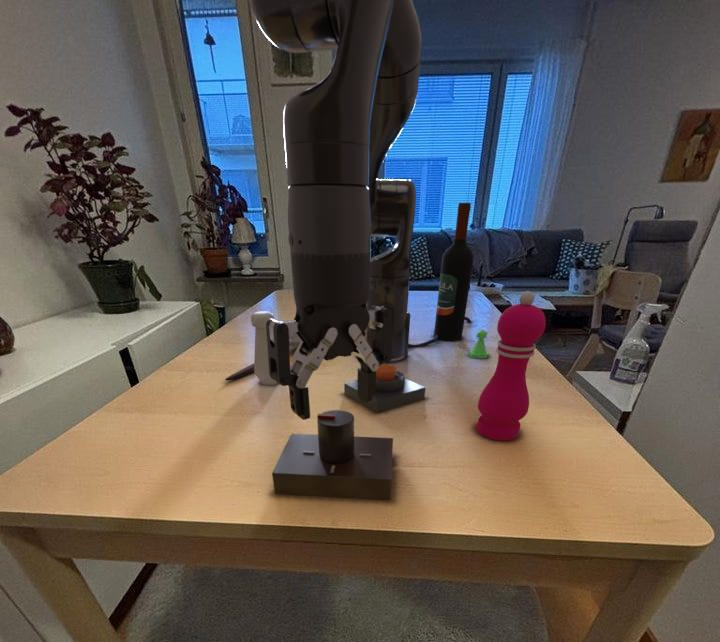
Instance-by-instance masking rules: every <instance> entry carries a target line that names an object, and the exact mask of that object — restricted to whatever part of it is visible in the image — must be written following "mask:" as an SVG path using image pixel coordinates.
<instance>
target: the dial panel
mask: <svg viewBox="0 0 720 642" xmlns="http://www.w3.org/2000/svg"><path fill="white" fill-rule="evenodd" d="M393 450H394V437H379V436H378V437H376V436H356V435H354V456H353V457H352V458H351V459H350V460H348V461H345V462H340V463H332V462H327V461H325V460H323V459H322V458H321V457H320V455H319V441H318V434H310V433H309V434H308V433H290V436H289V437H288V439H287V441H286V443H285V446H284V448H283V449H282V452H281V454H280V455H279V456H280V457H279V458H278V460H277V462H276V464H275V466H274V468H273V470H272V472H271V475H272V482H273V490H274V494H278V495H296V496H313V497H329V498H330V497H331V498H348V499H350V498H351V499H368V500H387V501H390V500H391V499H392V497H391V496H392V482H393V454H394V453H393Z"/></svg>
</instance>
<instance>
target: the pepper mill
mask: <svg viewBox="0 0 720 642" xmlns="http://www.w3.org/2000/svg"><path fill="white" fill-rule="evenodd" d="M535 299H536V298H535V294H534V292H532V291H530V290H526V291H524V292H523V293H521V295H520V296H519V303H517V304H514V305H511V306H509V307H507V308H506V309H505V310H504V311H503V312H502V313H501V315H500V316H499V318H498V322H497V326H496V331H497V334H498V336H499V337H500V340H499V341H498V342H497V348H496V350H495V351H496V353H497V354H498V356H497V357H498V358H497V364H496V368H495V371H494V373H493V375H492V377H491V378H490V380H489V381H488V383H487V384H486V385H485V387H484V388H483V390H482V391H481V393H480V395H479V397H478V398H479V399H478V401H477V409H478V411H479V413H480V414H481V415H480V416H479V417H478V419H477V425H476V430H477V432H478V434H480V435H482V436H483V437H485V438H487V439H491V440H495V441H511V440H513V439H514V440H515V439H516V438H517V437H518V436H519V433H520V430H521V422H520V421H521V420H522V419H524V418H525V417H526V416H527V414H528V412H529V407H530V396H529V390H528V385H527V377H526V374H527V368H528V364H529V361H530V358H532V357H533V356H534V355H535V350H536V348H537V344H536V343H535V342H536V341H538V340H539V339H540V338H541V337H542V336H543V334H544V332H545V330H546V322H547V320H546V316H545V313H544V311H543V310H542V309H541V308H540V307H538V306H536V305H533V303H534V302H535Z"/></svg>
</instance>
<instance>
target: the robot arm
mask: <svg viewBox="0 0 720 642" xmlns="http://www.w3.org/2000/svg"><path fill="white" fill-rule="evenodd" d="M248 2H249V5H250V8H251V11H252V14H253V16H254V18H255V20H256V23H257V24H258V26H259V29H260V30H261V31H262V33H263V34H264V36H265V37H266V38H267V39H268V41H270V42H271V43H272V45H274V46H275V47H277V48H278V49H279V50H282V51H284V52H287V53H290V54H304V53H305V54H306V53H313V52H314V53H315V52H322V51H323V52H324V51H333V50H336V53H335V56H334V59H333V62H332V65H331V68H330V69H329V72H328V73H327V75H326V76H325V77H324V78H323V79H322V80H320V81H319V82H317V83H316V84H314V85H312V86H309V87H307V88H305V89H302V90H301V91H298V92H297V93H295V94H293V95H292V96H290V97H289V99H288V100H287V101H286V103H285V104H284V108H283V114H282V115H283V117H282V118H283V121H282V122H283V138H284V151H285V162H286V163H285V165H286V178H287V179H286V180H287V186H288V188H287V191H288V192H287V193H288V197H287V199H288V204H287V226H288V236H287V237H288V245H289V252H290V263H291V276H292V277H291V278H292V286H293V287H292V290H293V299H294V303H295V309H296V310H295V314H294V315H295V316H294V318H293V320H280V321H279V320H277V319H275V318H274V319H269V320H268V321H267V323H266V332H267V347H268V361H269V375H270V377H271V378H272V379H273V380H275V381H276V382H278V383H277V384H279V385H281V386H282V387H286V386H288V393H289V403H290V404H289V405H290V409H291V411H292V412H293V413H294V414H295V415H296V416H297V417H299V418H300V419H301V420H303V421H306V420H308V419H311V409H310V408H311V407H310V406H311V405H310V394H309V387H308V386H307V384H308V383H309V381H310V379H311V377H312V375H313V373H314V372H315V371H317V370H318V369H319V368H320V365H321V364H322V362H323V360H325V361H331V360H334V359H336V358H338V357H344V358H345V357H351V356H353V358H354V359H355V360H356V362H357V364H358V365H359V366H360V367H357V380H358V398H359V399H360V400H362V401H364V402H365V403H368V402H371V401H372V400H373V396H374V395H375V391H376V384H375V383H376V371H377V370H378V368H379V366H380V365H384V364H390V363H393V362H399V361H402V360H403V359H404V358H405V357H408V353H409V348H419V347H427V346H428V345H431V344H434V343H436V342H437V341H439V340H438V338H439V336H438V335H436V336H435V338H434V337H433V338H432V339H429V340H427V341H424V342H421V343H418V344H411V343H410V342H409V341H410V325H411V324H410V323H411V313H410V312H409V311H408V307H409V294H410V293H409V292H410V278H411V277H410V276H411V257H412V256H411V255H412V245H413V244H412V243H413V235H414V227H415V218H416V209H417V189H416V184H415V183H414V181H413V180H411V179H399V178H398V179H393V178H392V179H390V178H389V179H388V178H387V179H385V178H384V179H382V178H381V179H379V174H380V171H381V168H382V166H383V163H384V160H385V159H386V157H387V154H388V152H389V151H390V149H391V148H392V146H393V144H394V143H395V142H396V140H397V138H398V137H399V136H400V134H401V132H402V130H403V129H404V127H405V126H406V124H407V122H408V120H409V119H410V117H411V115H412V113H413V110H414V109H415V105H416V103H417V99H418V96H419V95H418V93H419V85H420V84H419V83H420V71H421V58H422V46H423V45H422V44H423V41H422V32H421V26H420V21H419V18H418V14H417V12H416V9H415V6H414V2H413V0H248ZM371 237H372V238H373V237H374V238H378V237H380V238H396V241H395V244H394V245H392V246H391V247H390V248H389V249H388V250H386V251H385V252H382V253H380V254H378V255H375V256H372V257H371V239H372V238H371ZM464 321H466V322H467V323H468V324H469V323H472V321H471V318H469V317H468V316H465V319H464ZM295 333H296V334H297V335H298V336H299V337H300V339H301V342H300V344H299V346H298V347H297V348H296V350H294V353H293V356H292V357H293V360H292V362H291V355H290V353H291V351H290V352H289V345H290V344H291V343H292V342H293V336H294V334H295ZM364 333H365V334H364ZM309 353H310V354H309Z"/></svg>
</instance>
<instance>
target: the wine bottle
mask: <svg viewBox="0 0 720 642" xmlns="http://www.w3.org/2000/svg"><path fill="white" fill-rule="evenodd" d="M471 205H472V203H471V202H458V205H457V216H456V224H455V231H454V239H453V242H452V244H451V245H450V246H449V247H447V249H446V250H445V251H444V253H443V254H442V257H441V267H440V274H439V275H440V276H439V285H438V293H437V294H438V295H437V302H436V313H435V322H434V328H433V329H434V330H433V339H434V338H435V336H436V335H438V336H439V338H438V340H437V341H442V342H443V341H444V342H457V341H461V340H462V338H463V331H464V326H465V320H464V319H465V317H466V311H467V306H468V298H469V292H470V285H471V278H472V271H473V266H474V265H473V264H474V254H473V251H472V249H470V246H468V245H467V237H468V236H467V234H468V228H469V226H468V225H469V219H470V212H471V209H472V208H471V207H472V206H471Z"/></svg>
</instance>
